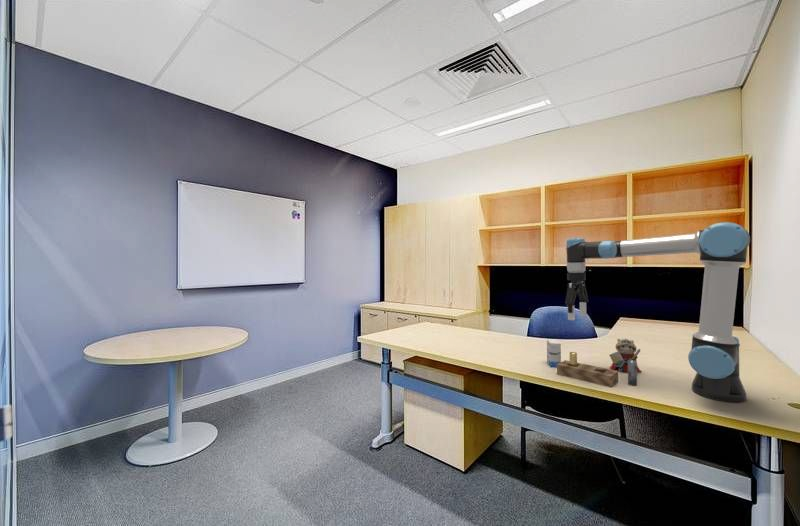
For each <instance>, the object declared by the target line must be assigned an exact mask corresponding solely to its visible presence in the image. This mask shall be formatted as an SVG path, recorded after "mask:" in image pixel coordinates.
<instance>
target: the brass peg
mask: <svg viewBox="0 0 800 526" xmlns="http://www.w3.org/2000/svg"><path fill="white" fill-rule="evenodd" d="M569 361H570V366H574V367H577V363H578V352H576V351H575V352H574V351H570V352H569Z"/></svg>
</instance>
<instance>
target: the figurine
mask: <svg viewBox="0 0 800 526" xmlns="http://www.w3.org/2000/svg"><path fill="white" fill-rule="evenodd" d="M634 342H635V341H634V339H633V340H632V339H631V340H630V339H627V338H623V339H621V338H617V343H616V344H615V350H616V351H615V352H612V353H611V354H608V355H609V357H610V359H611V361H612V364H611V365H610V366H609V369H610V370H616V369H617V371H618V372H619V371H620V372H624V373H628V360H636V361H637V359H638V358H639V356H638V355H639V354H640V352H641V348H637V346H636V344H635V343H634ZM637 362H638V361H637ZM637 373H642V370H640V368H639V365H637Z"/></svg>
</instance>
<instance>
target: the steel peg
mask: <svg viewBox="0 0 800 526" xmlns="http://www.w3.org/2000/svg"><path fill="white" fill-rule="evenodd" d="M636 360H637V359H636ZM636 360H628V372H627V384H628V386H631V387H633V386H634V387H635V386H638V380H637V379H638V376H637V375H638V374H637V373H638V370H637V366H638V363H637V362H638V361H636Z"/></svg>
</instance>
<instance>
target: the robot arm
mask: <svg viewBox="0 0 800 526" xmlns="http://www.w3.org/2000/svg"><path fill="white" fill-rule="evenodd" d="M750 243H751V236H750V233H749V231H748V230H747V229H746V228H745V227H743V226H742V225H740V224H738V223H735V222H729V221H725V222H716V223H714V224H711V225H709V226H708V227H706V228H705V229H701V230H697V232H694V233H687V234H686V233H685V234H674V235H666V236H665V235H664V236H657V237H656V236H655V237H647V238H645V237H644V238H636V239H635V238H634V239H624V240H615V241H614V240H600V241H598V240H597V241H590V242H589V241H585V238H584V237H577V238H573V237H571V238H569V239H567V240H566V248H565V250H566V265H565V266H566V270H567V273H566V278H567V281H570V282H568V283H567V289H566V296H565V301H564V306H567V320H568V321H575V320H576V316H575V314H576V313H575V312H576V311H575V309H576V308H575V302H576V297H577V296H578V298H579V301H580V302H579V316H580V317H587V303H589V298H588V293H587V288H586V282H585V281H586V280H587V278H586V277H587V276H586V274H587V273H586V260H587V259H588V260H589V259H607V260H608V259H615V258H617V259H618V258H627V257H629V258H631V257H644V256H645V257H646V256H660V255H661V256H663V255H679V254H694V253H695V254H699V261H700V263H702V264H703V265H704V273H703V281H702V292H701V293H702V294H701V303H700V304H701V305H700V312H699V313H700V315H699V323H698V324H699V325H698V326H699V327H698V330H697V332H694V333H693V334H692V338H691V349H690V351H689V352H688V356H687V358H688V363H689V365H690V367H691V368H692V369H693V371H694V372H696V373H695V376H694V378H693V381H692V383H691V391H692V392H694V393H695V394H697V395H699V396H702V397H705V398H708V399H712V400H716V401H721V402H725V403H726V402H727V403H744V402H746V401H747V398H748V397H747V392H746V390H745V387H744V385H743V383H742V381H741V376H740V347H741V344H740V341H739V338H738V337H736V336H733V329H734V320H735V309H736V301H737V289H738V283H739V281H738V280H739V272H740V271H739V270H740V267H742V266H743V265H745V264H746V263H747V257H748V247H749V245H750Z"/></svg>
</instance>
